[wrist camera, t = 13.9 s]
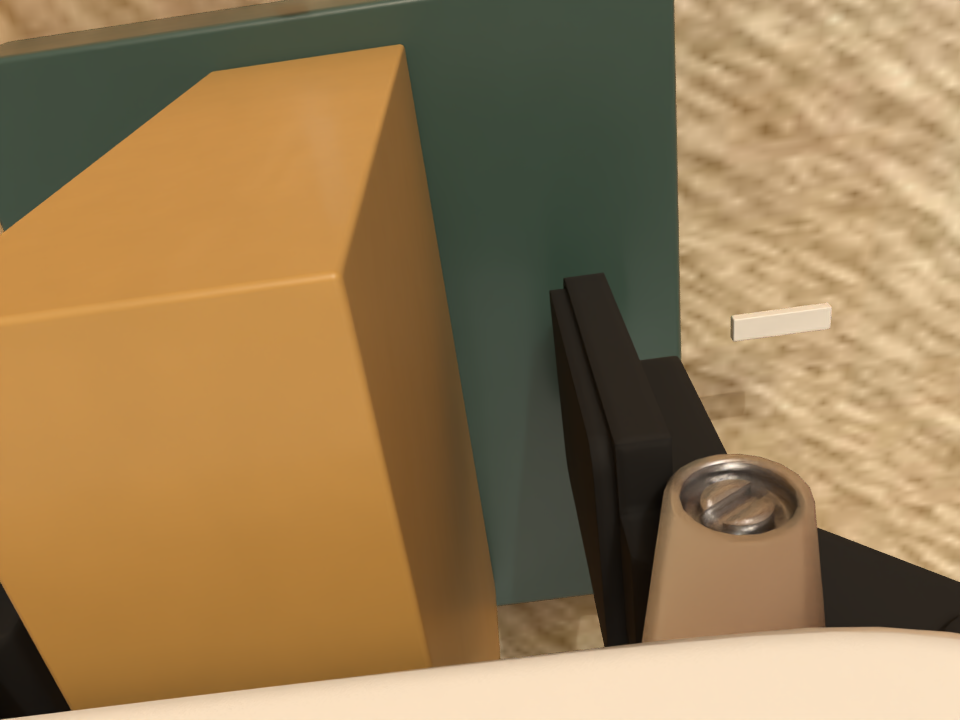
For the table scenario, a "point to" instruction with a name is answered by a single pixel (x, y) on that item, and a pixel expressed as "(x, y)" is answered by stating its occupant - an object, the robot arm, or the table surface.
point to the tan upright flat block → (241, 400)
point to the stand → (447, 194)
